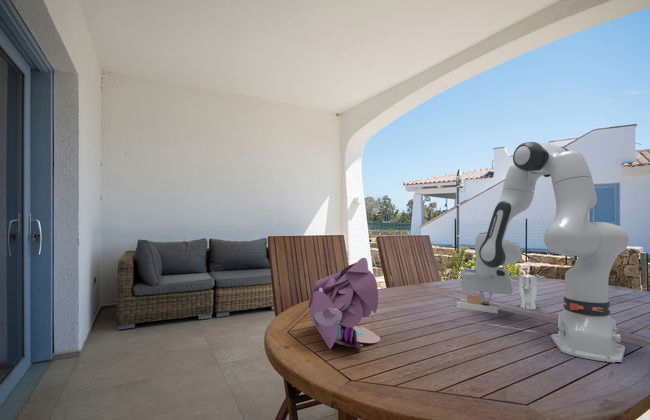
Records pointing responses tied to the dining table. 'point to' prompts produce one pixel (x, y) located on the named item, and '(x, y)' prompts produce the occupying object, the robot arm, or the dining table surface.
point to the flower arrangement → (345, 305)
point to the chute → (479, 306)
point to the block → (474, 298)
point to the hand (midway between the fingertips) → (486, 302)
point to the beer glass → (528, 291)
